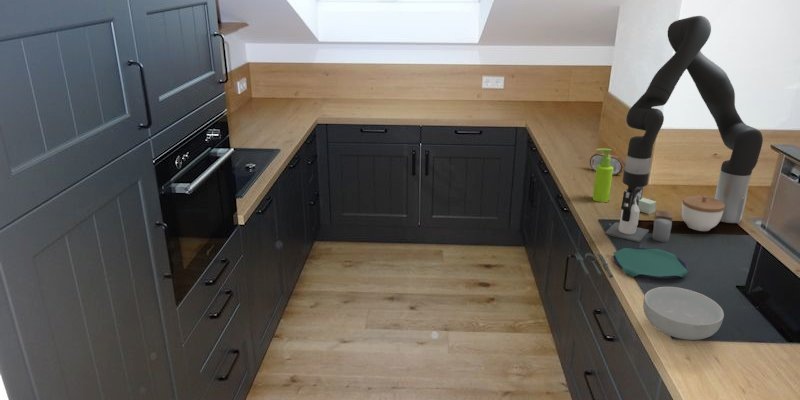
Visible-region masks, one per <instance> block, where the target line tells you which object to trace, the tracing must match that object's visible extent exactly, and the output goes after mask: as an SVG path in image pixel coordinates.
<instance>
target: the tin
mask: <svg viewBox="0 0 800 400" xmlns="http://www.w3.org/2000/svg"><path fill="white" fill-rule="evenodd" d="M604 153H605V152H602V151H600V152H596V153H594V154H592V156H591V157H590V158H589V166H590V168H591V169H592V170H593V171H595V172H596V168H597V165H601V158H602V157H603V156H604ZM609 157H610V158H611V162H610V166H612V167H613V173H612V176H617V175H618V176H619V174H621V173H624V168H625V161H624V160H623V158H622V157H620V156H618V155H614V154H610V153H609Z"/></svg>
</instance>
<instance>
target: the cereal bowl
mask: <svg viewBox="0 0 800 400" xmlns="http://www.w3.org/2000/svg"><path fill="white" fill-rule="evenodd" d="M642 307H643V312H644V316H645V317H646V319H647V321H649V323H650V324H651V325H652V326H653V327H654V328H655V329H657V330H659V331H660V332H662V333H664V334H666V335H668V336H670V337H673V338H677V339H679V340H680V339H681V340H687V341H688V340H689V341H690V340H691V341H695V340H703V339H707V338H709V337H712V336H713V335H714V334H716V333H717V332H718V331H719V329H720V328H721V326H722V323H723V322H724V317H725V314H724V313H725V312H724V310H723V308H722V307H721V306H720V305H719V304H718V302H716V301H715V300H714V299H711V298H710V297H708V296H707V295H704V294H702V293H700V292H697V291H694V290H691V289H687V288H682V287H678V286H677V287H676V286H660V287H654V288H652V289H650V290H647V292H645V294H644V297H643V305H642Z"/></svg>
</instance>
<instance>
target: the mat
mask: <svg viewBox="0 0 800 400" xmlns="http://www.w3.org/2000/svg"><path fill="white" fill-rule="evenodd" d="M619 224H620V222H616V221H615V222H614V223H613V224H612V225H611V226H610V227H609V228H608V229H607V230H606V231H605V232H604V234H605V235H606V236H611V237H615V238H619V239H622V240H627V241H631V242H636V243H641V242H642V240H643V239H644V238H645V237H646V236H647V235H648V233H650V230H649V229H646V228H642V227H638V226H637V229H636V232H635V233H634V234H625V233H622V232H620V231H619Z"/></svg>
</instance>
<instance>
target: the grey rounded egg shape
mask: <svg viewBox="0 0 800 400" xmlns="http://www.w3.org/2000/svg"><path fill="white" fill-rule="evenodd" d="M672 225H673V221H672V222H671V221H670V220H667V219H656V220H655V223H654V222H653V230H652V235H651V238H652V240H654V241H657V242H662V243H666V242H669V241H670V236H671V230H672Z"/></svg>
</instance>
